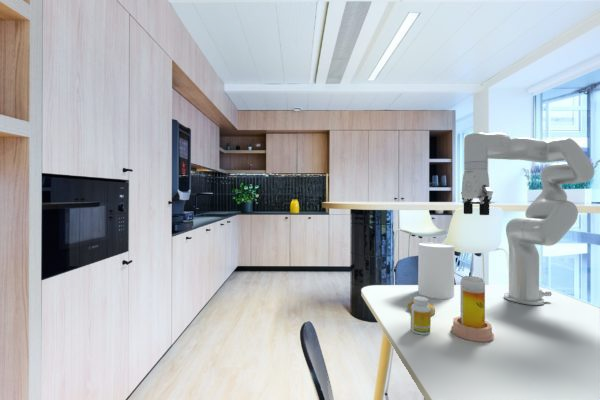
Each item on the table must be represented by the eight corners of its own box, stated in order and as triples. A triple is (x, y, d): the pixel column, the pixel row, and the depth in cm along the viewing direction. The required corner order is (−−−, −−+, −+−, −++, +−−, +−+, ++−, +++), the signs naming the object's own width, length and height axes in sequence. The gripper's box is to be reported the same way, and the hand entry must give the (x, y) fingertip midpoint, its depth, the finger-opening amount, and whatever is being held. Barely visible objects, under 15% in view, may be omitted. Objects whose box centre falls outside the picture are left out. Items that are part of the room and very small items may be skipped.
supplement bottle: (407, 328, 93) (407, 296, 93) (422, 326, 94) (423, 294, 94) (418, 336, 88) (418, 301, 88) (434, 334, 89) (434, 300, 89)
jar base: (478, 326, 95) (479, 315, 95) (502, 342, 84) (502, 330, 84) (444, 326, 95) (444, 315, 95) (464, 342, 84) (464, 330, 84)
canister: (443, 288, 136) (443, 242, 136) (461, 298, 122) (461, 247, 123) (412, 289, 135) (413, 242, 135) (427, 298, 122) (427, 247, 122)
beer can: (488, 336, 86) (488, 281, 86) (464, 334, 87) (464, 280, 87) (480, 327, 92) (480, 276, 92) (457, 325, 93) (457, 275, 93)
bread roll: (415, 317, 103) (416, 305, 103) (405, 308, 112) (405, 296, 112) (440, 317, 103) (440, 304, 103) (427, 307, 112) (427, 296, 112)
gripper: (453, 169, 123) (453, 213, 123) (480, 164, 106) (480, 215, 106) (471, 169, 124) (471, 213, 124) (502, 165, 106) (502, 215, 106)
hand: (475, 214), depth 115 cm, fingers open, 9 cm apart
